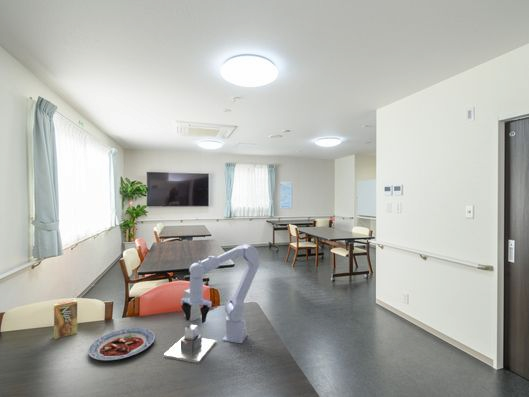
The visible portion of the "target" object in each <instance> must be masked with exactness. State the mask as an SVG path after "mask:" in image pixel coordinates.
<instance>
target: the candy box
mask: <svg viewBox="0 0 529 397" xmlns="http://www.w3.org/2000/svg"><path fill="white" fill-rule="evenodd" d="M76 334H78V301H77V299H73V300H69V301H63V302H57V303H54V305H53V339H54V340H57V339H60V338H63V337H67V336H68V337H69V336H72V335H76Z"/></svg>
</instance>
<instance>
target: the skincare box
mask: <svg viewBox="0 0 529 397" xmlns="http://www.w3.org/2000/svg"><path fill="white" fill-rule="evenodd" d="M183 298H190V288H187V289H185V290H183ZM200 308H201V306H200V305H191V317H190V320H189V321H195V320H198V319H200V318H201V310H200ZM183 316H184V317H185V318H186V316H185V313H184V312H183Z"/></svg>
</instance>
